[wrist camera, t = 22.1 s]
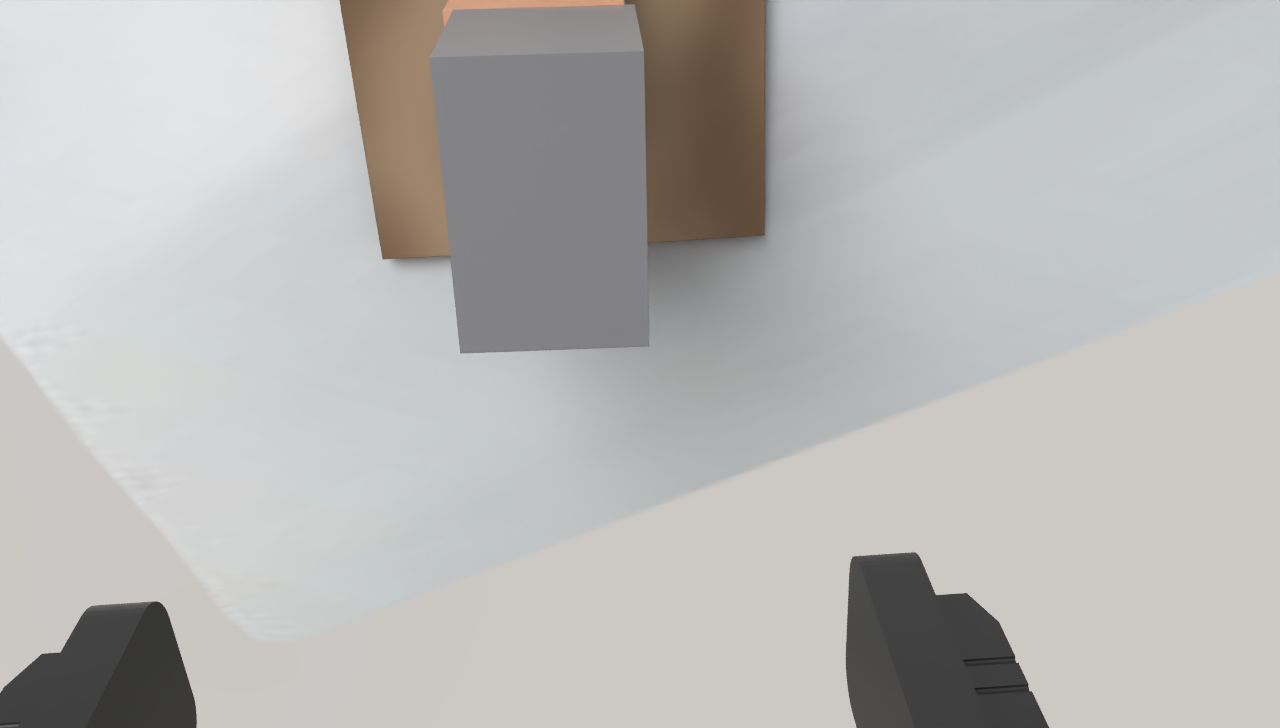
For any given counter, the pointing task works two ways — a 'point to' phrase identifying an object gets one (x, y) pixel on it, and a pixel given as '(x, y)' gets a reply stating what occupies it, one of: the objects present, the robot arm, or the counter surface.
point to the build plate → (674, 118)
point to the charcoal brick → (544, 176)
